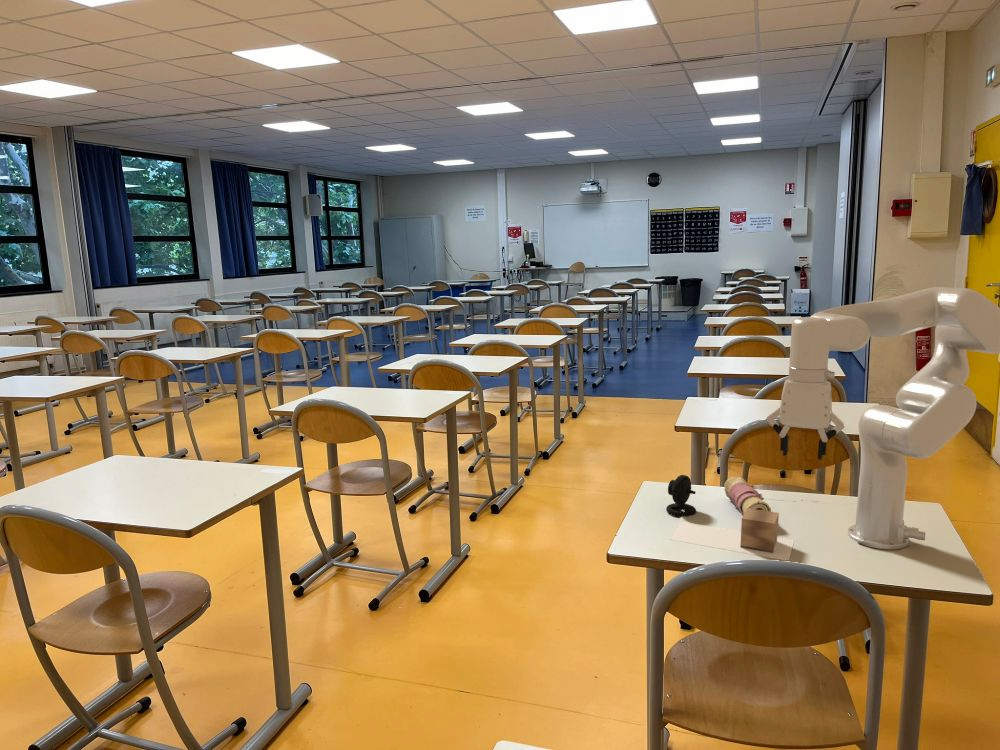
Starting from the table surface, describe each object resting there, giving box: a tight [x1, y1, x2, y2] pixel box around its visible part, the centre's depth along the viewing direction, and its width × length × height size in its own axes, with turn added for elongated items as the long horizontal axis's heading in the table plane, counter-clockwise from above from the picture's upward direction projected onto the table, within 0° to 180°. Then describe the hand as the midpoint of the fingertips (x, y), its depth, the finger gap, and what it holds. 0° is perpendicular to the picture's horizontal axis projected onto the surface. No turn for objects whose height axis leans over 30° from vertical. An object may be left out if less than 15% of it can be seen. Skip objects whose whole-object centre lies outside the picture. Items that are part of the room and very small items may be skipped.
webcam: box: [665, 474, 697, 518], centre depth 182 cm, size 8×8×10 cm
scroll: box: [723, 476, 772, 516], centre depth 181 cm, size 8×8×20 cm
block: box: [740, 508, 780, 553], centre depth 161 cm, size 7×7×7 cm
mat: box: [669, 521, 795, 561], centre depth 164 cm, size 26×12×1 cm, turn 62°
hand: (802, 455), depth 154 cm, fingers open, 6 cm apart
